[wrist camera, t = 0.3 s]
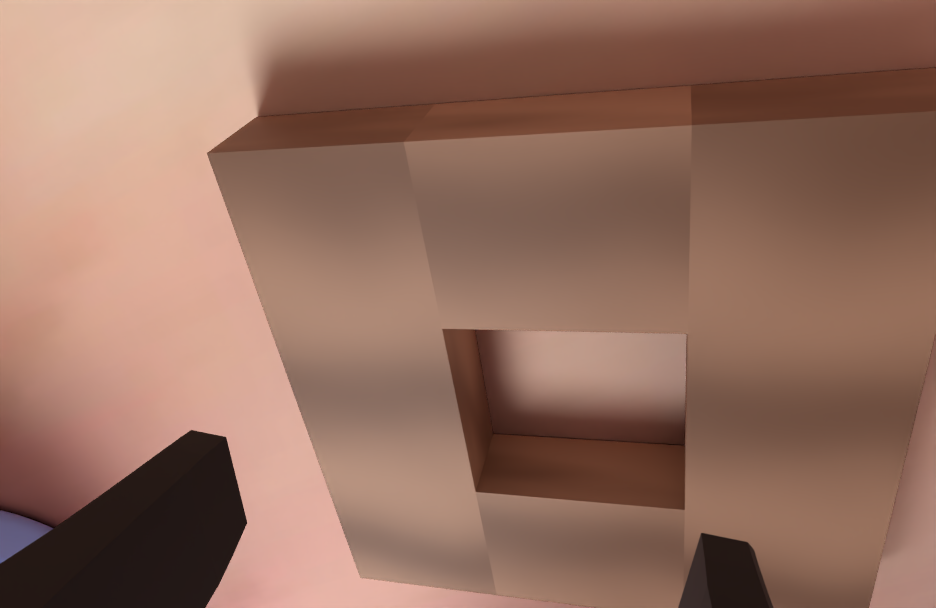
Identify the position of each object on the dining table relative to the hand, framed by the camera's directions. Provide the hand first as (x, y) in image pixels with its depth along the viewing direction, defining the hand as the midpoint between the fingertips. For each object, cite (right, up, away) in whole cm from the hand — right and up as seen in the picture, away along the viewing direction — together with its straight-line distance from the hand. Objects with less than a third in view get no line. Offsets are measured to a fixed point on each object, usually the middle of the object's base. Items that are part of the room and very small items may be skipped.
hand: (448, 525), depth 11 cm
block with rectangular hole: (+4, +2, +10) cm, 11 cm away
